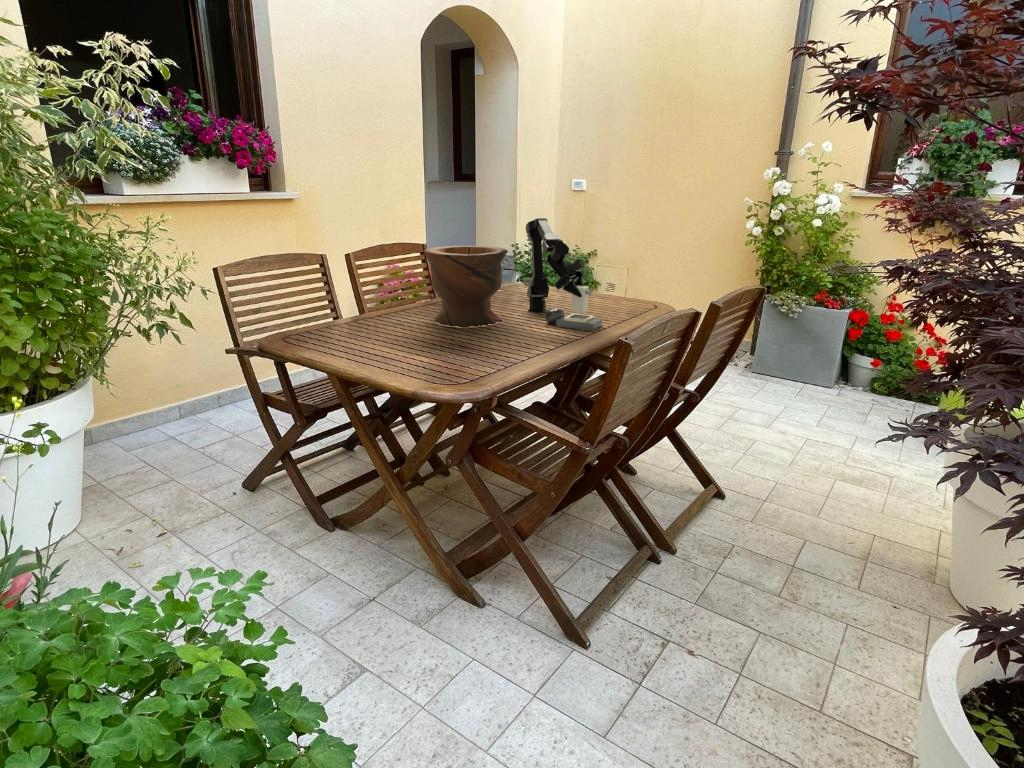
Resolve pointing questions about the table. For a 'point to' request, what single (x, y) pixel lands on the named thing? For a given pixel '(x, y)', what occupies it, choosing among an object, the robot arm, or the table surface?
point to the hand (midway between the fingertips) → (583, 295)
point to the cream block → (581, 300)
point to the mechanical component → (526, 282)
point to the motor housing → (572, 320)
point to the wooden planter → (466, 283)
